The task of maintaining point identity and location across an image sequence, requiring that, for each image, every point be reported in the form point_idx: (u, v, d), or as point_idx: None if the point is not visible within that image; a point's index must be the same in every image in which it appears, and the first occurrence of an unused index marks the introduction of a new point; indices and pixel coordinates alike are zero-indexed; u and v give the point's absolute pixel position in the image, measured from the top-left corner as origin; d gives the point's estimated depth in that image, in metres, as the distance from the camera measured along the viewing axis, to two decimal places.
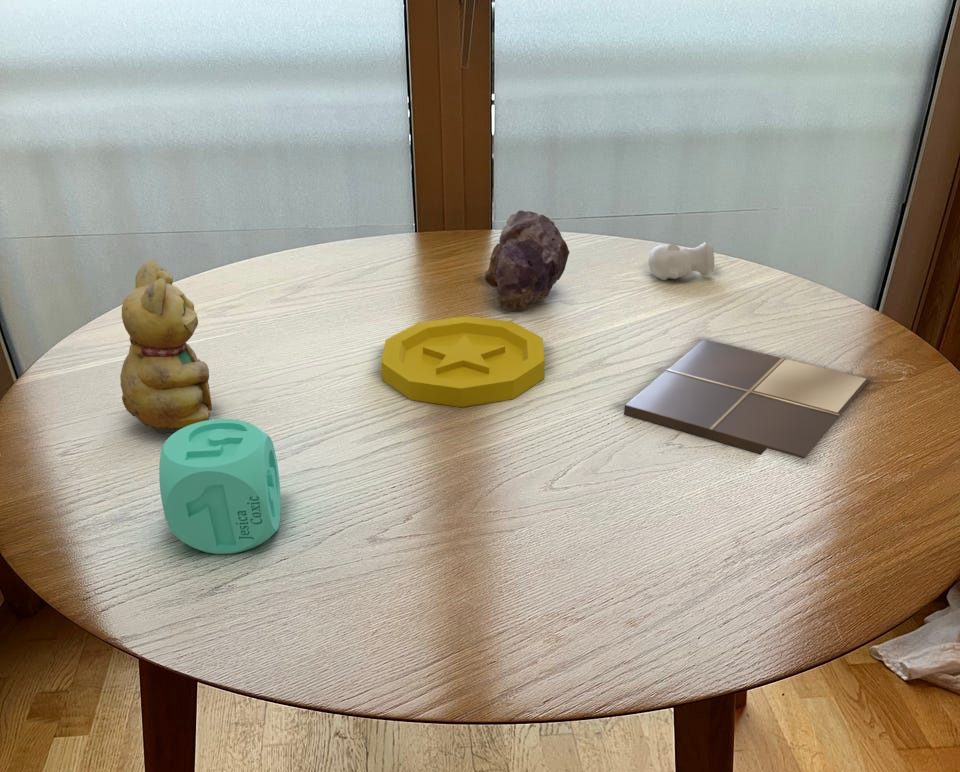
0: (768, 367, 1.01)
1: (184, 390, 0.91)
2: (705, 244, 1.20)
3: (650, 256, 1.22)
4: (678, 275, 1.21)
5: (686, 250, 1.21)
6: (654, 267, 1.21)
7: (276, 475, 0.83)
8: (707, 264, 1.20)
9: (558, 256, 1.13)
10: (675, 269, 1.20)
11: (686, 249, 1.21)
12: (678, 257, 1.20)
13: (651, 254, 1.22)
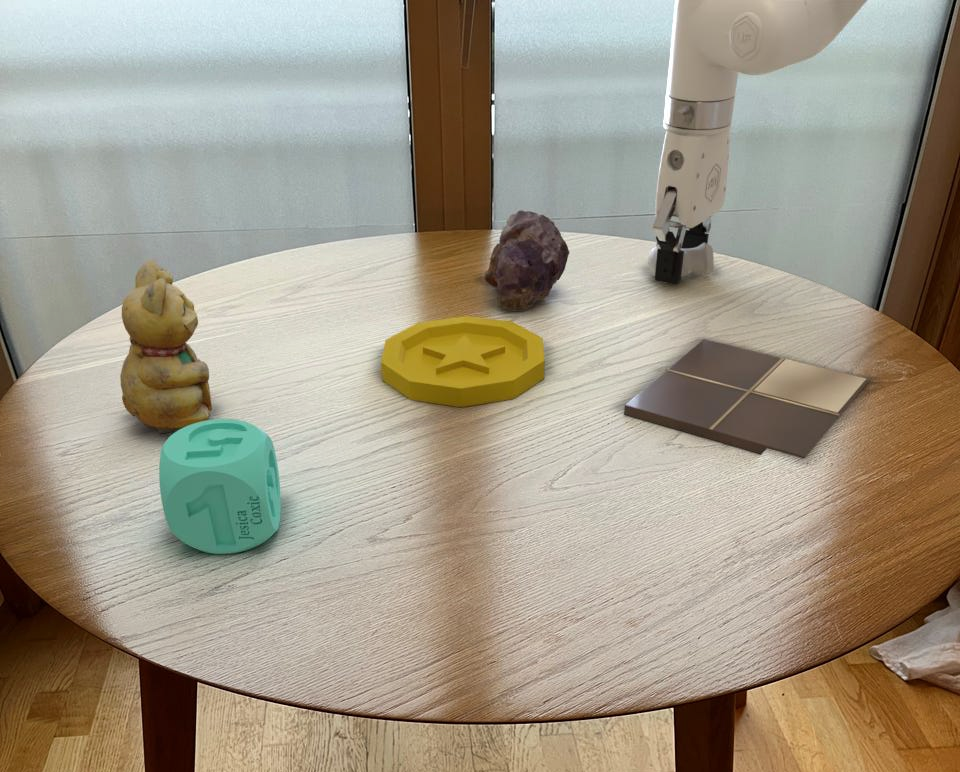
0: (768, 367, 1.01)
1: (184, 390, 0.91)
2: (704, 244, 1.20)
3: (649, 256, 1.22)
4: None
5: (685, 251, 1.21)
6: (654, 267, 1.21)
7: (276, 475, 0.83)
8: (706, 264, 1.20)
9: (558, 256, 1.13)
10: None
11: (685, 249, 1.21)
12: None
13: (650, 254, 1.22)
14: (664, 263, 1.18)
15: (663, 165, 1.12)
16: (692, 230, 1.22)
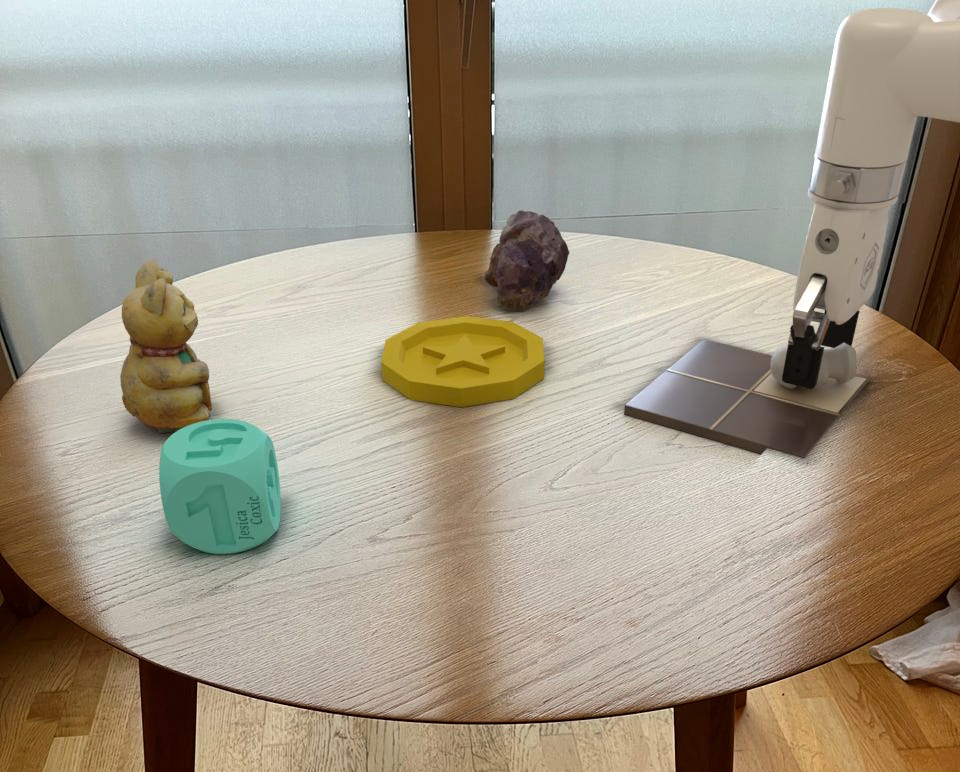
0: (768, 367, 1.01)
1: (184, 390, 0.91)
2: (846, 346, 0.95)
3: (774, 359, 0.97)
4: None
5: None
6: (780, 373, 0.96)
7: (276, 475, 0.83)
8: (848, 370, 0.95)
9: (558, 256, 1.13)
10: None
11: None
12: None
13: (775, 357, 0.97)
14: (797, 362, 0.92)
15: (809, 247, 0.86)
16: None
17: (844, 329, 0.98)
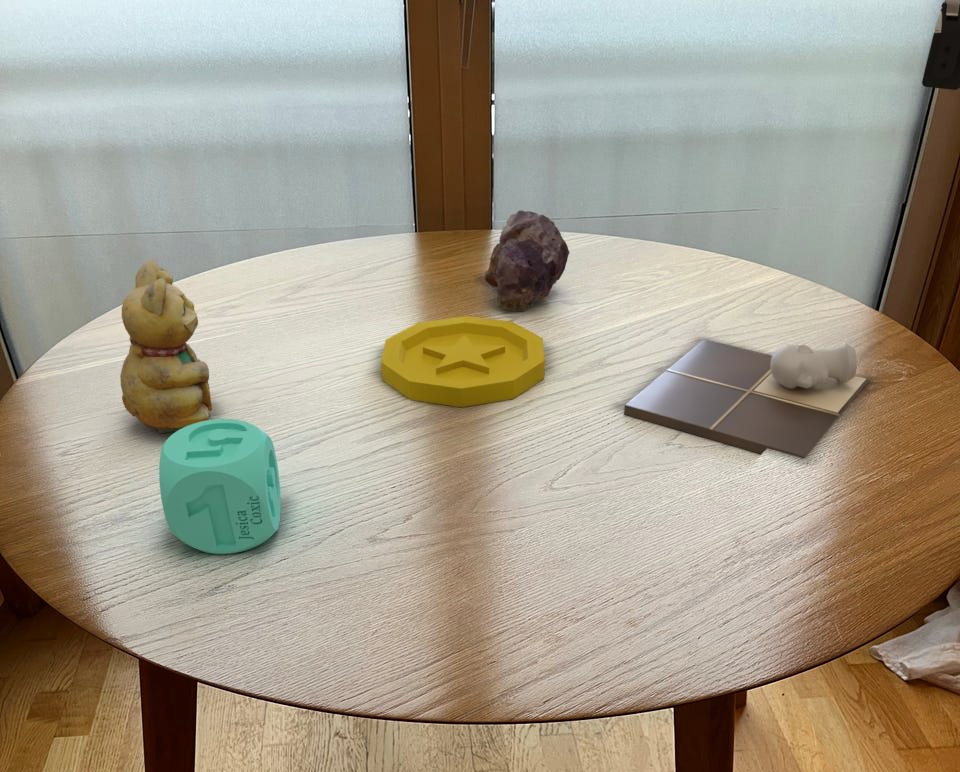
0: (768, 367, 1.01)
1: (184, 390, 0.91)
2: (846, 346, 0.95)
3: (774, 359, 0.97)
4: (811, 384, 0.96)
5: (820, 353, 0.96)
6: (780, 373, 0.96)
7: (276, 475, 0.83)
8: (848, 370, 0.95)
9: (558, 256, 1.13)
10: (807, 377, 0.95)
11: (820, 351, 0.96)
12: (811, 362, 0.95)
13: (775, 357, 0.97)
14: (943, 55, 0.83)
15: None
16: None
17: None
